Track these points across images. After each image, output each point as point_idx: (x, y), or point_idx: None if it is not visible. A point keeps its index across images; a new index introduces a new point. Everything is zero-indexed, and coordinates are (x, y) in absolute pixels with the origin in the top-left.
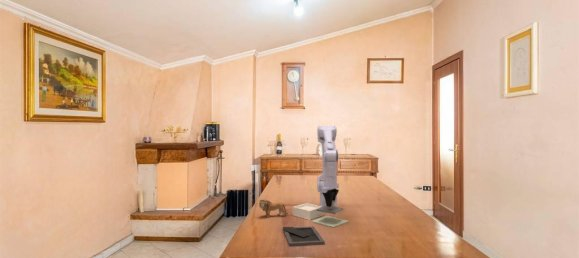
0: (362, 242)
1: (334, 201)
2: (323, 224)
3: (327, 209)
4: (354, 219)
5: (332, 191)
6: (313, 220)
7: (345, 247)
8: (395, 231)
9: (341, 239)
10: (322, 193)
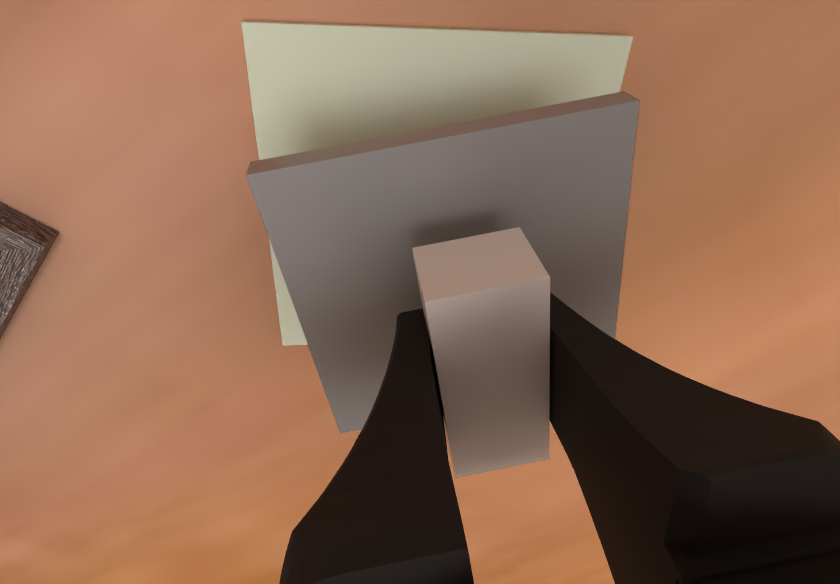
0: (201, 578)
1: (499, 452)
2: None
3: (385, 303)
4: (659, 323)
5: (647, 576)
6: (282, 26)
7: (31, 577)
8: (527, 573)
9: (114, 507)
10: (300, 521)
